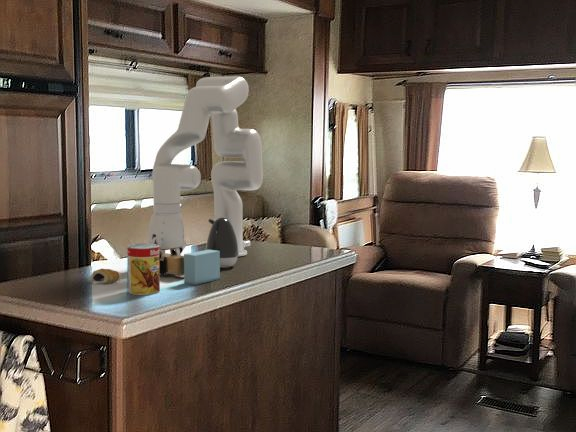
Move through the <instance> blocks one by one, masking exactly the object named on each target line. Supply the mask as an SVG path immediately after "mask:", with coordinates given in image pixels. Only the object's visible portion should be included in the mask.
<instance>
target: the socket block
mask: <svg viewBox="0 0 576 432" xmlns="http://www.w3.org/2000/svg"><path fill="white" fill-rule="evenodd" d="M183 256H184V275H183V283H184V284H188V285H193V286H196V285H200V284H201V285H202V284H206V283H210V282H215V281H218V280H220V279H221V275H220V274H221V272H220V271H221V268H220V251H216V250H206V249H204V250H200V251H199V250H198V251H195V252H188V253H184V254H183Z"/></svg>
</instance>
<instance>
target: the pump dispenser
mask: <svg viewBox="0 0 576 432" xmlns="http://www.w3.org/2000/svg"><path fill="white" fill-rule="evenodd" d="M208 223H210V224H211V227H210V229H209V233H208V235H207V240H206V245H205V250H216V251H220V269H228V268H231V267H233V266H234V265H235V264H236V262H237V261H238V255H239V249H238V242H237V238H236V234H235V231H234V229H233V226H232V224H231V223H230V221H229V220H228V219H226V218H218V219H217V220H215V221H214V219H211V218H209V219H208Z"/></svg>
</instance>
